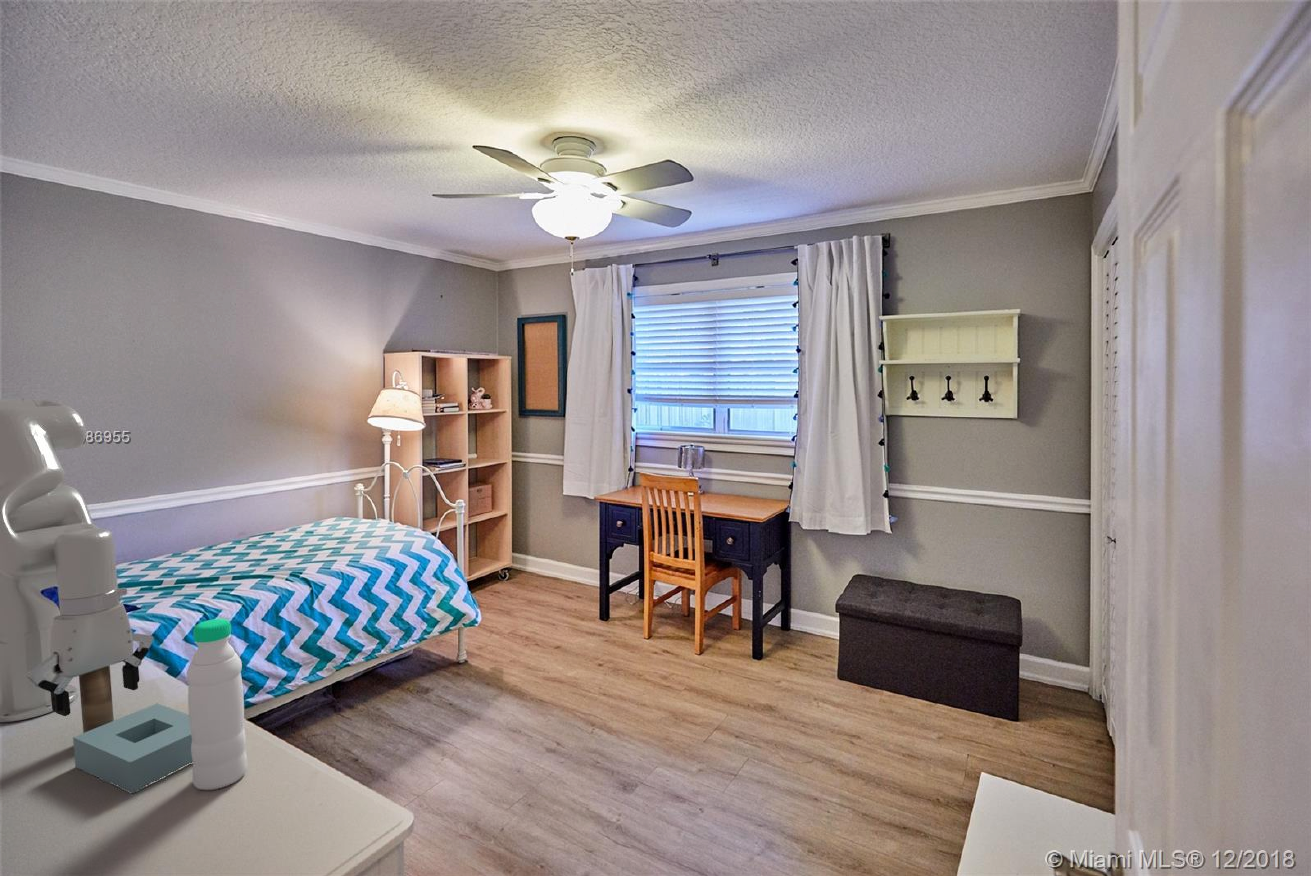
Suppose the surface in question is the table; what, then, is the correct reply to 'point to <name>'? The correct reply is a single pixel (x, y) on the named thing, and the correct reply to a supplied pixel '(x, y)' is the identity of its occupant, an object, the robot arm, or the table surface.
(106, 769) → the socket block
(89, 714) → the peg
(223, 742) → the water bottle
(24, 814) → the table surface
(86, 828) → the table surface
